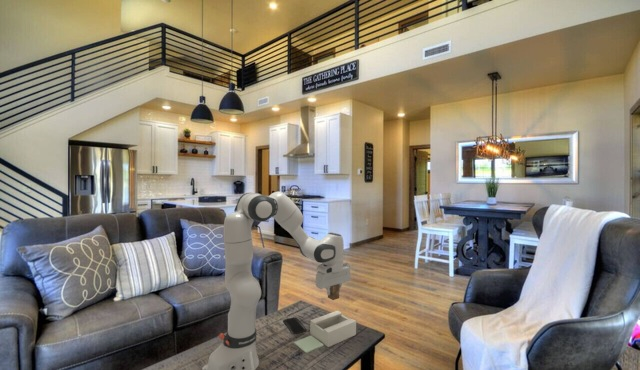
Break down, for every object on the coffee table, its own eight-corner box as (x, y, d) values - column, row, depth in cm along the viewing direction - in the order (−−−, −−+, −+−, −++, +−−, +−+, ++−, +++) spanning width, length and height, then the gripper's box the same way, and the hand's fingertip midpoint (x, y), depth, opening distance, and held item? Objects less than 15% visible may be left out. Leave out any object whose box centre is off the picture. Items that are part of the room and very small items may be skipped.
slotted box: (328, 347, 139) (328, 332, 139) (310, 334, 150) (310, 320, 150) (355, 334, 150) (356, 321, 150) (337, 323, 161) (337, 310, 161)
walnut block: (333, 300, 147) (333, 286, 146) (327, 297, 150) (328, 283, 149) (339, 298, 149) (339, 284, 149) (333, 295, 152) (334, 281, 152)
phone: (295, 317, 166) (307, 329, 153) (295, 319, 166) (307, 332, 153) (282, 319, 163) (293, 333, 149) (282, 322, 163) (293, 335, 149)
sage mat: (306, 353, 134) (306, 352, 134) (293, 343, 142) (293, 342, 142) (323, 345, 140) (323, 344, 140) (310, 336, 148) (310, 335, 148)
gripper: (345, 260, 158) (344, 286, 158) (314, 267, 145) (313, 295, 146) (353, 263, 153) (353, 290, 153) (322, 271, 140) (321, 300, 141)
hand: (333, 293), depth 149 cm, fingers closed on walnut block, 4 cm apart
